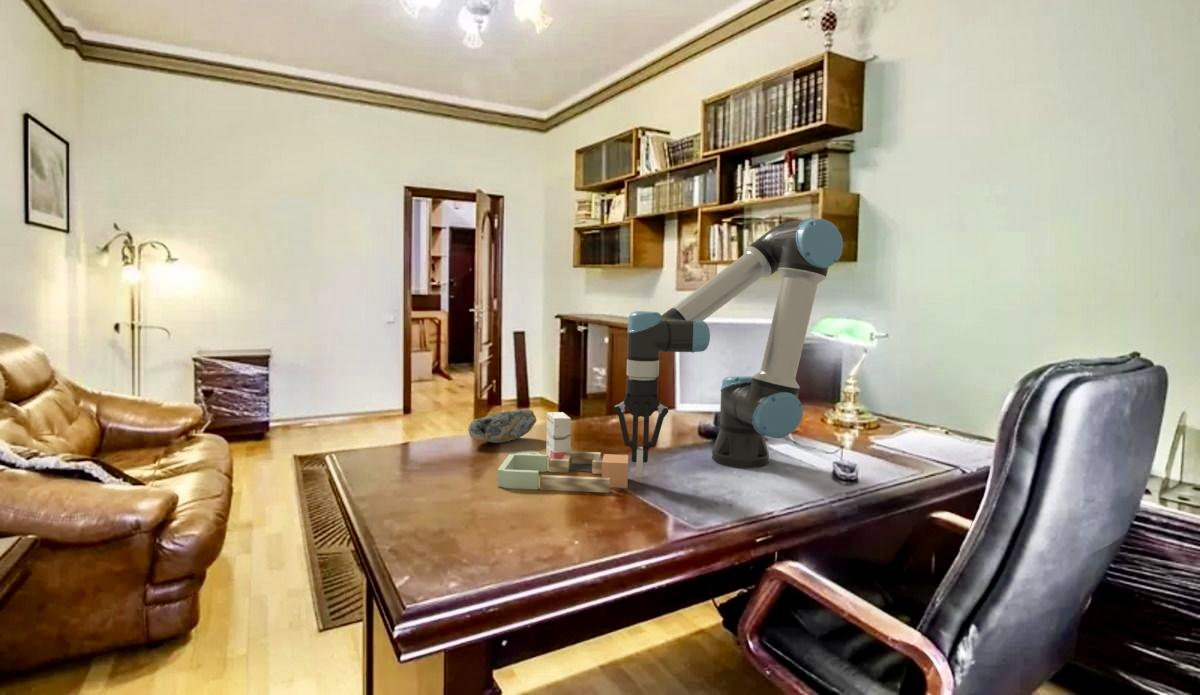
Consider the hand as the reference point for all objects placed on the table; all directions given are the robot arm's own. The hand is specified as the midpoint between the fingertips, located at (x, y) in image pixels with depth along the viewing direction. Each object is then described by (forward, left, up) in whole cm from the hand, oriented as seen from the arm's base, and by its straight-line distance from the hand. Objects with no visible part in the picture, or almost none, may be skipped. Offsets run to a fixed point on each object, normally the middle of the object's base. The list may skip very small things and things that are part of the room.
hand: (639, 475), depth 155 cm
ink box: (+22, -19, -2) cm, 29 cm away
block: (+6, 0, -2) cm, 6 cm away
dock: (+28, 0, -2) cm, 28 cm away
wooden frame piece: (+15, -4, -2) cm, 15 cm away
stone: (+40, -32, -2) cm, 51 cm away
